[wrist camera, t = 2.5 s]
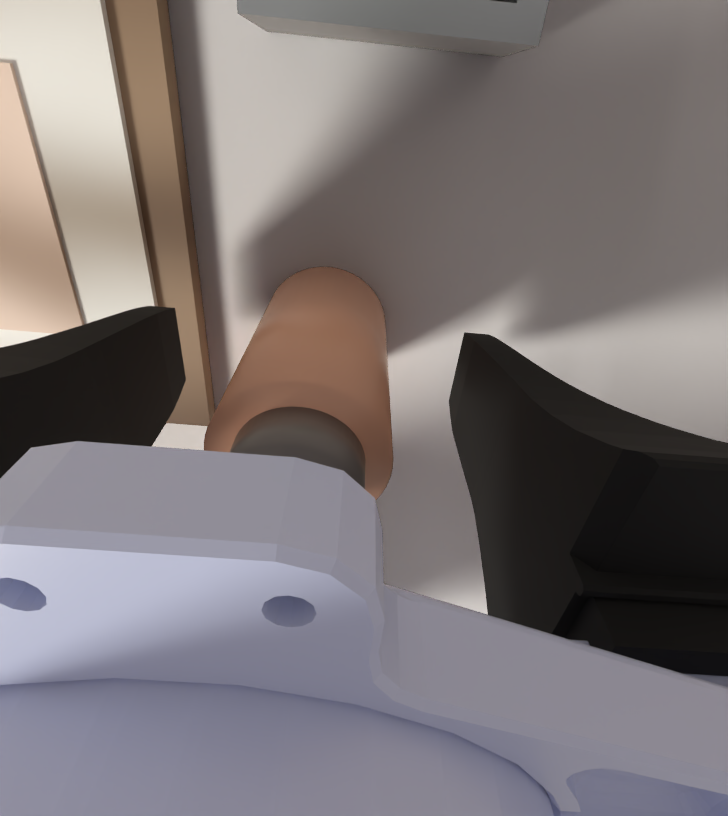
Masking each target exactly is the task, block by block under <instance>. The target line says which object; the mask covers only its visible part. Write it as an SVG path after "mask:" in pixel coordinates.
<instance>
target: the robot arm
mask: <svg viewBox="0 0 728 816" xmlns="http://www.w3.org/2000/svg"><path fill="white" fill-rule="evenodd" d="M185 381H186V376H185V370H184V363H183V357H182V350H181V343H180V337H179V330H178V324H177V317H176V311H175V308H170V307H158V306H145V307H139V308H135V309H131V310H128V311H124V312H121V313H118V314H115V315H112V316H108V317H105V318H102V319H99V320H96V321H93V322H90V323H87V324H84V325H81V326H78V327H75V328H71V329H68V330H65V331H61V332H58V333H55V334H51V335H48V336H45V337H41V338H38V339H34V340H30V341H27V342H23V343H19V344H14V345H10V346H6V347H1V348H0V816H728V443H725V442H721V441H716V440H712V439H709V438H705V437H702V436H698V435H695V434H691V433H688V432H685V431H681V430H678V429H674V428H671V427H668V426H665V425H662V424H659V423H656V422H653V421H650V420H648V419H645V418H642V417H640V416H637V415H634V414H632V413H629V412H627V411H624V410H621V409H619V408H617V407H614V406H612V405H610V404H607V403H605V402H603V401H601V400H599V399H597V398H595V397H593V396H590V395H588V394H586V393H584V392H582V391H580V390H578V389H576V388H575V387H573V386H571V385H569V384H567V383H566V382H564V381H562V380H561V379H559V378H557V377H555V376H554V375H552V374H550V373H549V372H547V371H546V370H544V369H542V368H541V367H539V366H538V365H536V364H535V363H533V362H532V361H530V360H529V359H527V358H526V357H524V356H523V355H521V354H520V353H518V352H517V351H515V350H514V349H512V348H511V347H509V346H508V345H506V344H505V343H503V342H502V341H500V340H498V339H497V338H495V337H493V336H491V335H486V334H475V333H464V337H463V341H462V345H461V350H460V354H459V359H458V363H457V368H456V372H455V376H454V381H453V385H452V390H451V394H450V399H449V406H450V416H451V424H452V431H453V435H454V439H455V443H456V446H457V450H458V454H459V457H460V461H461V464H462V468H463V471H464V475H465V478H466V482H467V485H468V489H469V492H470V496H471V500H472V504H473V508H474V513H475V519H476V525H477V532H478V538H479V544H480V552H481V559H482V567H483V574H484V582H485V591H486V600H487V609H488V615H487V614H483V613H480V612H477V611H473V610H470V609H467V608H463V607H460V606H457V605H453V604H450V603H447V602H443V601H440V600H437V599H434V598H430V597H427V596H424V595H420V594H417V593H414V592H410V591H407V590H404V589H400V588H397V587H394V586H390V585H387V584H384V574H383V533H382V526H381V522H380V517H379V513H378V509H377V504H376V500H375V498H374V497H373V496H372V495H371V494H370V493H368V492H367V491H366V490H365V489H364V488H363V487H362V486H361V485H359V484H358V483H357V482H356V481H355V480H354V479H353V478H351V477H350V476H349V475H348V474H347V473H346V472H345V471H343V470H339V469H336V468H332V467H329V466H325V465H321V464H318V463H314V462H311V461H307V460H303V459H300V458H296V457H285V456H271V455H258V454H244V453H231V452H217V451H204V450H191V449H177V448H164V447H151V446H152V445H153V443H154V441H155V440H156V438H157V437H158V435H159V434H160V432H161V430H162V429H163V427H164V425H165V424H166V422H167V421H168V419H169V417H170V416H171V414H172V412H173V410H174V408H175V406H176V404H177V402H178V399H179V397H180V394H181V392H182V389H183V386H184V384H185Z"/></svg>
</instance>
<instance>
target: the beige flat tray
mask: <svg viewBox="0 0 728 816" xmlns="http://www.w3.org/2000/svg"><path fill="white" fill-rule="evenodd" d="M145 306H158V307H170V308H175V311H176V317H177V324H178V330H179V337H180V343H181V350H182V357H183V363H184V370H185V376H186V381H185V384H184V386H183V389H182V392H181V394H180V397H179V399H178V402H177V404H176V406H175V408H174V410H173V412H172V414H171V416H170V417H169V419H168V421H167V422H166V423H175V424H188V425H201V426H208V425H209V423H210V421H211V419H212V417H213V415H214V413H215V406H214V397H213V389H212V380H211V371H210V363H209V354H208V346H207V337H206V329H205V320H204V311H203V303H202V294H201V286H200V277H199V269H198V260H197V251H196V243H195V234H194V226H193V217H192V209H191V200H190V191H189V183H188V174H187V166H186V157H185V149H184V140H183V131H182V123H181V114H180V106H179V97H178V89H177V80H176V71H175V63H174V54H173V46H172V37H171V29H170V20H169V11H168V3H167V0H0V348H1V347H6V346H10V345H14V344H19V343H23V342H27V341H30V340H34V339H38V338H41V337H45V336H48V335H51V334H55V333H58V332H61V331H65V330H68V329H71V328H75V327H78V326H81V325H84V324H87V323H90V322H93V321H96V320H99V319H102V318H105V317H108V316H112V315H115V314H118V313H121V312H124V311H128V310H131V309H135V308H139V307H145Z"/></svg>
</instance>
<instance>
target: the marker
mask: <svg viewBox="0 0 728 816" xmlns="http://www.w3.org/2000/svg"><path fill="white" fill-rule="evenodd" d="M204 451H217V452H231V453H244V454H258V455H271V456H285V457H296V458H300V459H303V460H307V461H311V462H314V463H318V464H321V465H325V466H329V467H332V468H336V469H339V470H343V471H345V472H346V473H347V474H348V475H349V476H350V477H351V478H353V479H354V480H355V481H356V482H357V483H358V484H359V485H361V486H362V487H363V488H364V489H365V490H366V491H367V492H368V493H370V494H371V495H372V496H373V497H374V498H375V500H377V499H378V497H379V496H380V495H381V494H382V492H383V491H384V489H385V488H386V486H387V484H388V482H389V479H390V477H391V473H392V469H393V447H392V430H391V413H390V396H389V379H388V362H387V346H386V329H385V316H384V312H383V308H382V305H381V303H380V301H379V299H378V297H377V295H376V294H375V293H374V291H373V290H372V289H371V288H370V287H369V286H368V285H367V283H365V282H364V281H363V280H362V279H360V278H359V277H357V276H355V275H354V274H352V273H350V272H347V271H345V270H342V269H338V268H333V267H313V268H309V269H305V270H302V271H300V272H297V273H295V274H294V275H292V276H290V277H289V278H288V279H286V280H285V281H284V282H283V283H282V284H281V285H280V286H279V287H278V289H277V290H276V291H275V293H274V295H273V297H272V299H271V301H270V303H269V305H268V307H267V309H266V311H265V313H264V315H263V317H262V319H261V321H260V323H259V325H258V327H257V329H256V331H255V333H254V335H253V337H252V339H251V341H250V343H249V345H248V347H247V349H246V351H245V353H244V355H243V357H242V359H241V361H240V363H239V365H238V367H237V369H236V371H235V373H234V375H233V377H232V379H231V381H230V383H229V385H228V387H227V389H226V391H225V393H224V395H223V397H222V399H221V401H220V403H219V405H218V407H217V409H216V411H215V413H214V415H213V417H212V419H211V421H210V423H209V425H208V427H207V431H206V434H205V440H204Z"/></svg>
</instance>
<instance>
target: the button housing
mask: <svg viewBox="0 0 728 816" xmlns="http://www.w3.org/2000/svg"><path fill="white" fill-rule="evenodd" d="M548 3H549V0H237V10H238V14H240V15H241V16H243V17H245V18H246V19H248V20H249V21H251V22H252V23H254V24H256V25H257V26H259V27H260V28H262V29H264V30H265V31H267V32H276V33H286V34H295V35H304V36H314V37H323V38H332V39H341V40H351V41H360V42H369V43H379V44H388V45H397V46H406V47H416V48H425V49H434V50H444V51H453V52H462V53H471V54H481V55H490V56H499V57H504V56H507V55H511V54H514V53H517V52H520V51H524V50H527V49H530V48H533V47H537V46H538V45H539V41H540V37H541V33H542V28H543V24H544V20H545V15H546V11H547V7H548Z"/></svg>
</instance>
